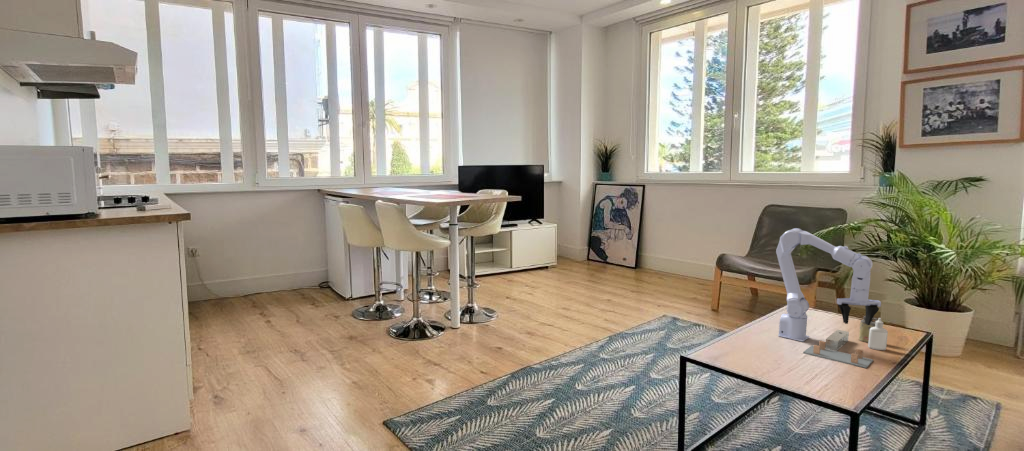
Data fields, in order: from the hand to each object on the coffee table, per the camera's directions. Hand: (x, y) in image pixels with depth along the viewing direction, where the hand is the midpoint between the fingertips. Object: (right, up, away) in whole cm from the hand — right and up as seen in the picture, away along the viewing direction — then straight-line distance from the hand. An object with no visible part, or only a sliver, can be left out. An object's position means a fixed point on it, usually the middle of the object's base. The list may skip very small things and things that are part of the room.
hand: (856, 323), depth 200 cm
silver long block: (-3, -10, +7) cm, 12 cm away
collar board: (-11, -11, -7) cm, 17 cm away
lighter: (+12, -9, +10) cm, 18 cm away
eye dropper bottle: (+9, -10, +2) cm, 14 cm away
